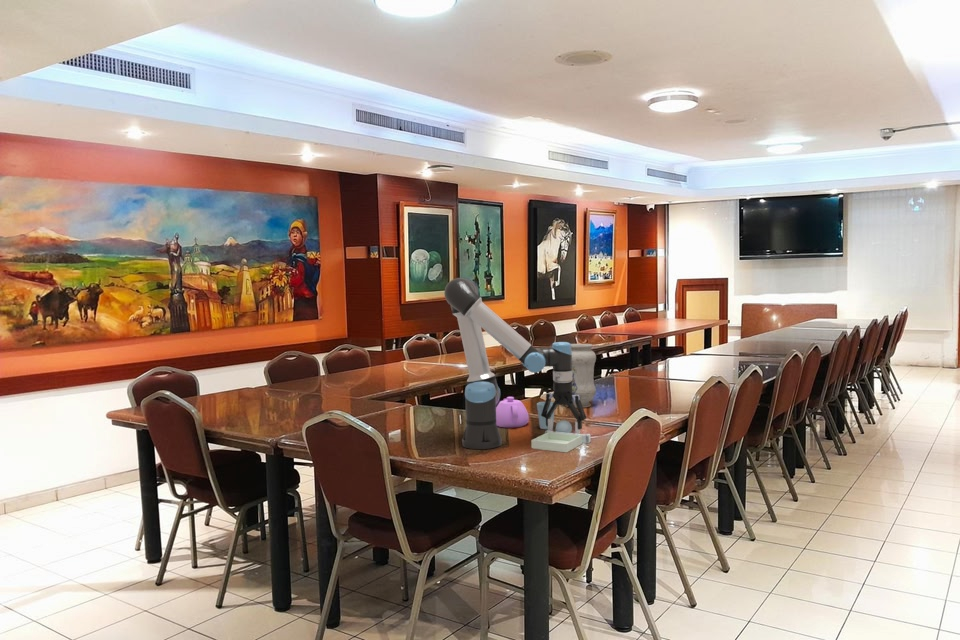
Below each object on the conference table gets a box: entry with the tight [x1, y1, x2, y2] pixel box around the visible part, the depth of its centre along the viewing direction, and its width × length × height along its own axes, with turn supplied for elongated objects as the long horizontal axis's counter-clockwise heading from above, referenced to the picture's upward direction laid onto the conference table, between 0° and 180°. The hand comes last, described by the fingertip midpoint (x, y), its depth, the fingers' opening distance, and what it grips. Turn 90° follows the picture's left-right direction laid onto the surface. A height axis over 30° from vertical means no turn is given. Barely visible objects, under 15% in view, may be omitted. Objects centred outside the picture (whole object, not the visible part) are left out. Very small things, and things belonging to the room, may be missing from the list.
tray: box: [530, 432, 583, 453], centre depth 259 cm, size 14×14×3 cm
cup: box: [536, 401, 555, 430], centre depth 290 cm, size 8×8×10 cm
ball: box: [555, 419, 573, 433], centre depth 274 cm, size 6×6×6 cm
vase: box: [564, 343, 597, 409], centre depth 335 cm, size 18×18×30 cm
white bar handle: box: [544, 429, 591, 444], centre depth 267 cm, size 18×2×3 cm, turn 59°
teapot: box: [496, 396, 530, 429], centre depth 299 cm, size 22×16×12 cm
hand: (564, 435), depth 274 cm, fingers open, 11 cm apart
